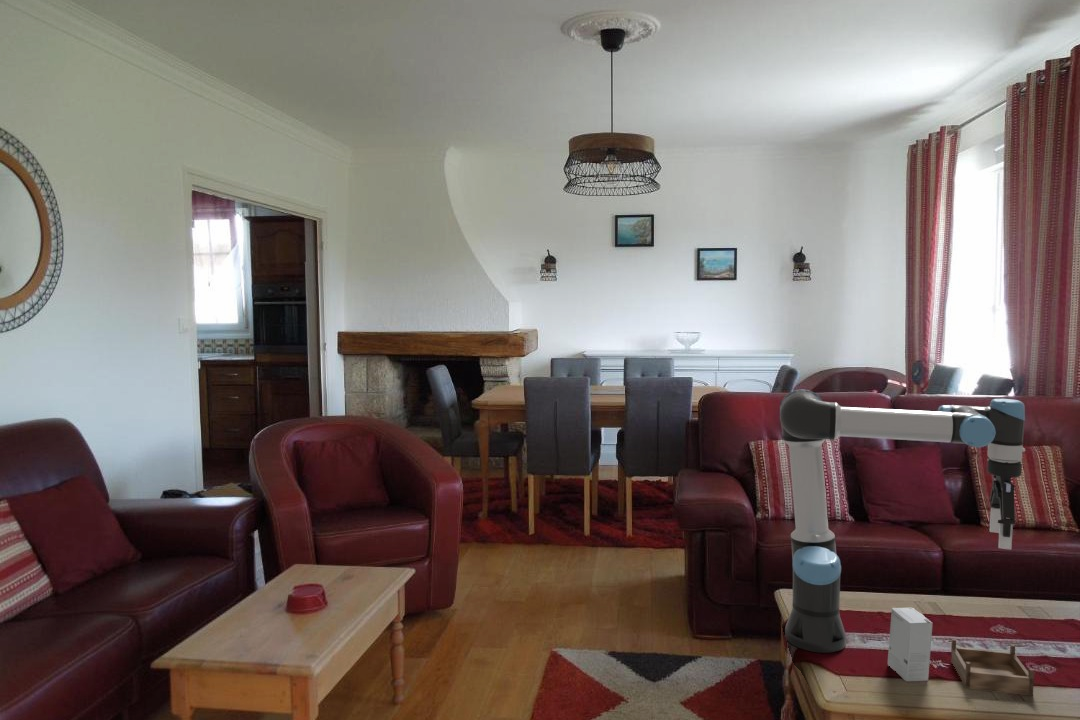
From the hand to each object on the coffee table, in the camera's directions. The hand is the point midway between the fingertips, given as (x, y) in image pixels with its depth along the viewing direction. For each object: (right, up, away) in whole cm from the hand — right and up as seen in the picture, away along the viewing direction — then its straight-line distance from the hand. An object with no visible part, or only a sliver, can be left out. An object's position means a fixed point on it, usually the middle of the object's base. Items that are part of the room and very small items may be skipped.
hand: (999, 540), depth 191 cm
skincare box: (-30, -29, -13) cm, 44 cm away
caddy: (-13, -29, -16) cm, 35 cm away
